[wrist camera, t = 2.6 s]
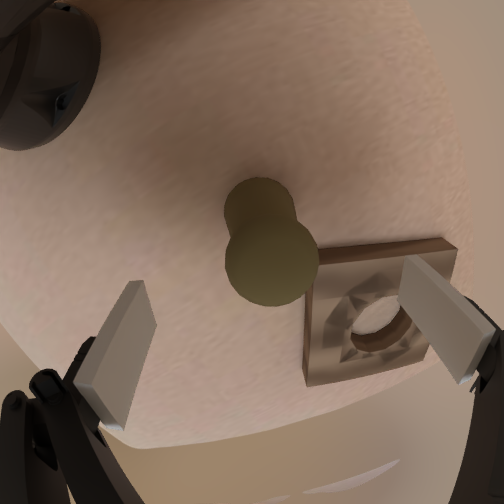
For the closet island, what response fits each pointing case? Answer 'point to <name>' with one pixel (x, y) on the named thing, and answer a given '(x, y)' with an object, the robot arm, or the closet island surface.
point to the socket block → (355, 301)
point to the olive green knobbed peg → (267, 244)
